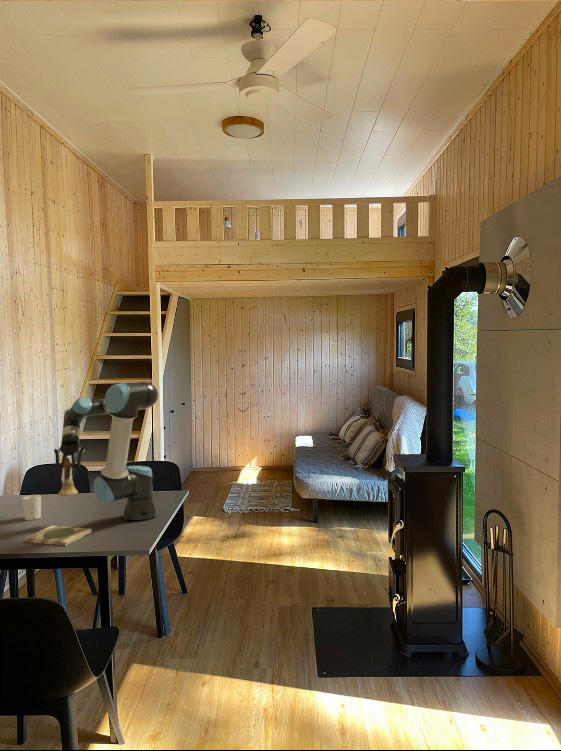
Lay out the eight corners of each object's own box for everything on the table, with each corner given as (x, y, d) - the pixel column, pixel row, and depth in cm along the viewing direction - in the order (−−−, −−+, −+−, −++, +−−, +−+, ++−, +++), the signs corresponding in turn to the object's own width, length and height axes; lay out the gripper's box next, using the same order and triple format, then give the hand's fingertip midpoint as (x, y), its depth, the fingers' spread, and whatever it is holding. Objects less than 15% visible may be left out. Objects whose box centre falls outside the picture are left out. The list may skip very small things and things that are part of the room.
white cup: (34, 521, 247) (33, 499, 247) (19, 520, 249) (18, 499, 248) (45, 515, 255) (44, 494, 254) (30, 515, 256) (29, 494, 256)
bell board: (91, 532, 230) (91, 528, 229) (66, 545, 214) (66, 541, 214) (52, 528, 235) (52, 525, 235) (24, 541, 220) (24, 537, 220)
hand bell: (59, 496, 236) (58, 460, 235) (57, 492, 243) (56, 457, 243) (79, 494, 240) (78, 458, 239) (76, 490, 247) (76, 455, 246)
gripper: (89, 441, 257) (86, 484, 242) (54, 443, 254) (49, 487, 238) (87, 432, 252) (84, 475, 236) (51, 434, 248) (46, 478, 233)
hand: (66, 481), depth 237 cm, fingers closed on hand bell, 2 cm apart
